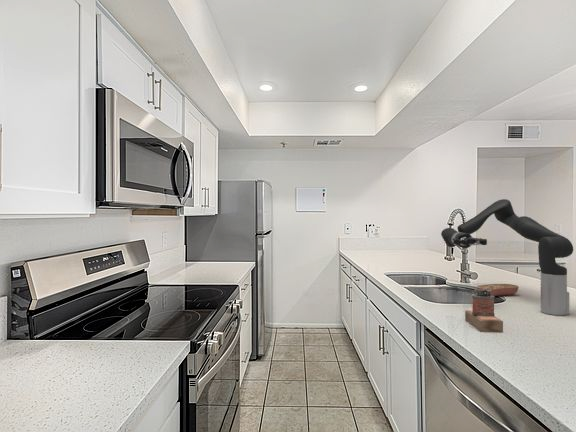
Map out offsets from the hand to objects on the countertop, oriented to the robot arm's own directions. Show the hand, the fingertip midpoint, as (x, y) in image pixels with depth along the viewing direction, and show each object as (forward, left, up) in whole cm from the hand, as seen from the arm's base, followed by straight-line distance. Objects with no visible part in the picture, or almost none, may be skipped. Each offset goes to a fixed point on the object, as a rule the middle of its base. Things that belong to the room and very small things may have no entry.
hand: (475, 242), depth 163 cm
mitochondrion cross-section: (-21, -26, -30) cm, 45 cm away
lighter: (+8, +26, -26) cm, 38 cm away
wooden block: (+8, +26, -30) cm, 41 cm away
